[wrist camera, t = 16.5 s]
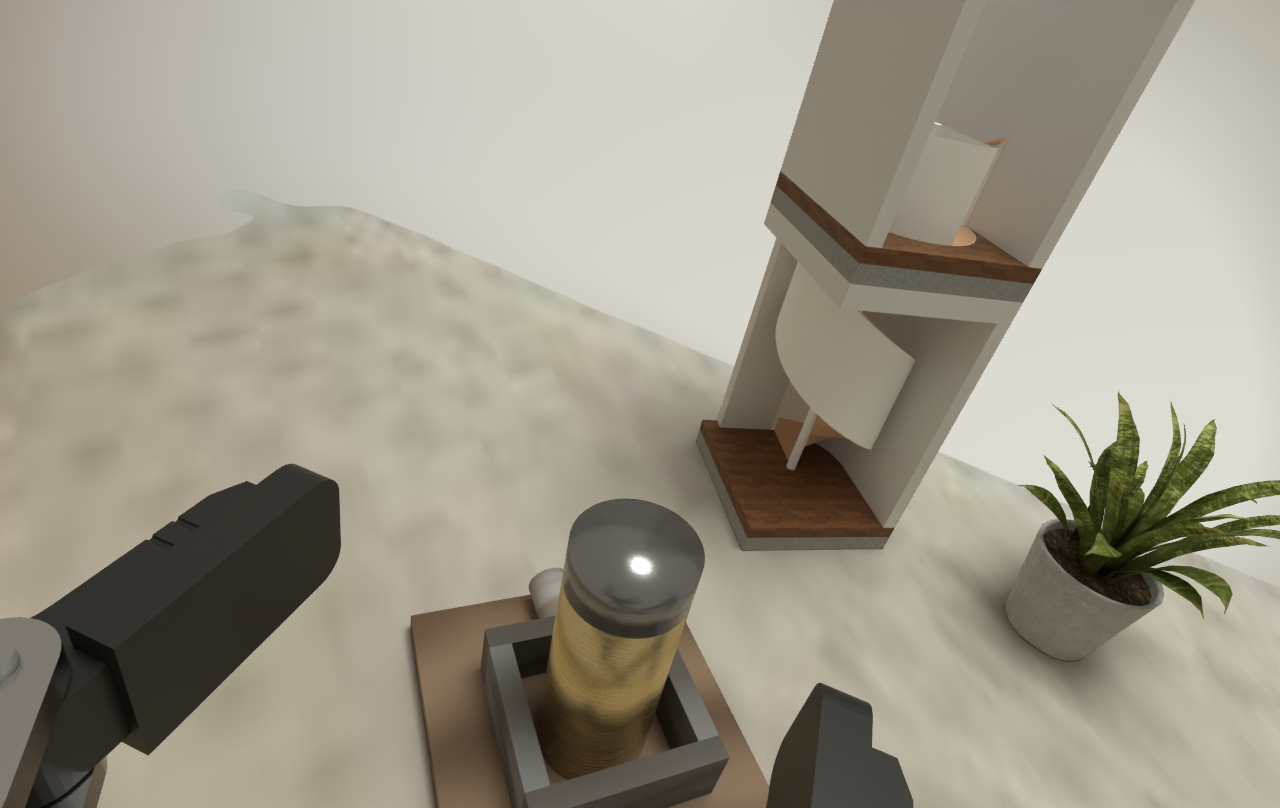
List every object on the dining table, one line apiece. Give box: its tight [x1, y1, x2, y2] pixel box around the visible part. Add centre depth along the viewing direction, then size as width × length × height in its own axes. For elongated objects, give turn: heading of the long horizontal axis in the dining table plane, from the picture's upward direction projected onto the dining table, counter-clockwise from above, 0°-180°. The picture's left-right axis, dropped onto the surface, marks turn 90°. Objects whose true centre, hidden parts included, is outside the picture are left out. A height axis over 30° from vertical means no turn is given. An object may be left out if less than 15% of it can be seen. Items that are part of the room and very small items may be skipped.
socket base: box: [411, 568, 769, 808], centre depth 31 cm, size 16×14×4 cm
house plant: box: [1005, 392, 1280, 661], centre depth 39 cm, size 14×14×16 cm
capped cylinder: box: [537, 499, 705, 780], centre depth 28 cm, size 5×5×12 cm
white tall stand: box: [696, 0, 1195, 551], centre depth 41 cm, size 11×11×35 cm
